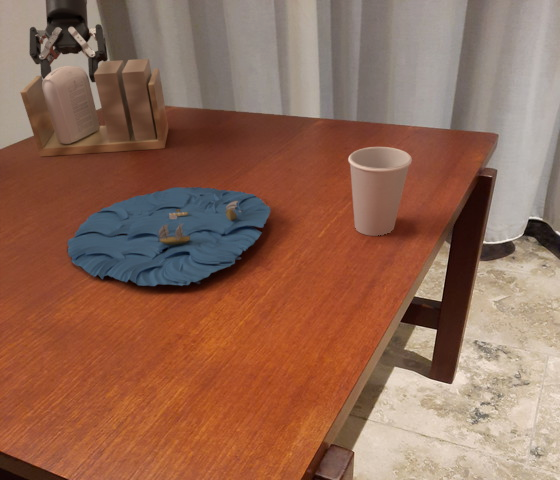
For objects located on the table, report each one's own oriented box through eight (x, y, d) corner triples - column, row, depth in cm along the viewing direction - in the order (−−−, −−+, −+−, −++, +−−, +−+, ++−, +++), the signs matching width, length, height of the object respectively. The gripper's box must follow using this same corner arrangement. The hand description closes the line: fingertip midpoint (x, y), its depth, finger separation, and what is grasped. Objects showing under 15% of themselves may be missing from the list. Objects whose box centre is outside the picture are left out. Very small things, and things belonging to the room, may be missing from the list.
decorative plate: (69, 321, 67) (54, 285, 63) (71, 215, 89) (60, 183, 85) (302, 271, 71) (300, 235, 68) (249, 181, 93) (246, 150, 90)
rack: (40, 156, 107) (16, 80, 98) (54, 136, 116) (33, 64, 107) (164, 148, 108) (151, 71, 99) (168, 128, 117) (157, 57, 108)
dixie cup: (335, 232, 79) (337, 162, 73) (359, 210, 84) (363, 142, 78) (390, 245, 76) (398, 173, 69) (412, 220, 81) (421, 151, 74)
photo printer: (86, 127, 115) (69, 60, 107) (103, 129, 114) (88, 61, 106) (54, 143, 108) (33, 73, 100) (72, 145, 107) (52, 75, 99)
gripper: (21, -12, 104) (24, 70, 103) (97, -15, 105) (102, 67, 103) (36, 16, 111) (40, 94, 110) (108, 13, 112) (112, 90, 111)
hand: (70, 81), depth 107 cm, fingers open, 8 cm apart
